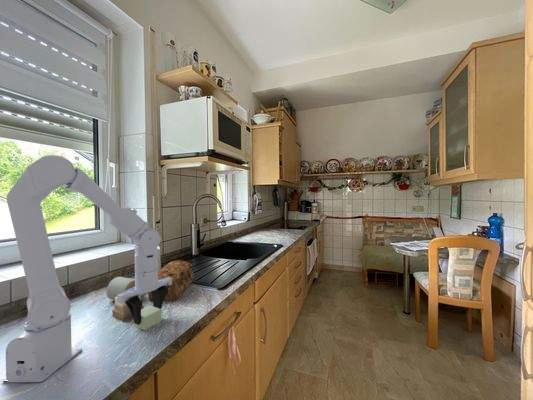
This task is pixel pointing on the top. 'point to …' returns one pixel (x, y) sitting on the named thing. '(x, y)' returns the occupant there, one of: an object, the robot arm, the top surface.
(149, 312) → the sage block
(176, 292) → the bread
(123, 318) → the walnut slab
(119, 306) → the beech block
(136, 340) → the top surface
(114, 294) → the ceramic mug
